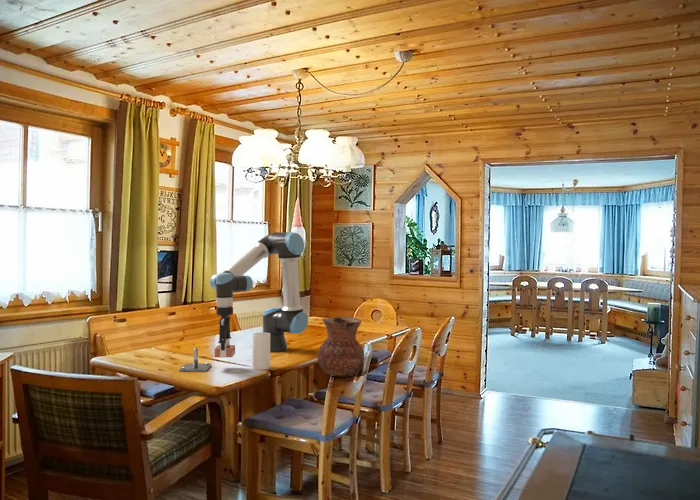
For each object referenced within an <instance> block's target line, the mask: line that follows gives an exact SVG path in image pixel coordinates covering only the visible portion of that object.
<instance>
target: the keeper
mask: <svg viewBox="0 0 700 500" xmlns="http://www.w3.org/2000/svg"><path fill="white" fill-rule="evenodd" d="M192 362H193V363H184V365H182V366H181V367H180V368H179V369H178V370H179V373H180V372H181V373H182V371H187V372H189V373H191V372H193V373H196V372H197V373H200V372H203V373H204V372H207V371H208V370H209V369H210V368H211V367H212V363H209V362H206V363H199V347H193V361H192ZM187 372H186V373H187Z"/></svg>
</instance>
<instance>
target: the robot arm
mask: <svg viewBox="0 0 700 500" xmlns="http://www.w3.org/2000/svg"><path fill="white" fill-rule="evenodd" d="M304 249H305V242H304V239H303V236H302V235H300V234H299V233H297V232H292V231H288V232H287V231H285V232H280V231H279V232H276V231H275V232H272V233H269V234H267V235H265V236H264V237H262V238H261V239H259V240H258V241H257V242H255V244H254V246H253V247H252V248H251V249H249V251H247V252H246V253H245V254H244V255H242V256H241V257H240V258H239V259H237V260H236V261H235V262H233V263H232V264H231V265H230V266H229V267H227V268H226V269H225V270H223V271H222V272H218V273H217V274H213V275H212V276H210V277H211V278H210V281H209V284H210V287H211V288H212V289H213V290H216V291H215V295H216V298H215V300H214V301H215V302H216V310H215V311H216V313H215V315H217V316H220V319H219V337H218V338H219V341H218V344H219V345H220V357H219V358H227V357H226V345H231V343H230V339H232V336H231V326H230V325H231V324H230V323H231V321H230V319H231V316H232V315H233V313H234V307H233V306H234V293H241V292H247V291H250V290H252V288H253V286H254V284H253V283H254V281H253V279H252V277H251V276H249V275H245V274H246V273H247V272H248V271H250V270H251V269H252V268H253V267H255V266H256V265H257V264H258V263H259V262H260V261H261V260H263V259H266V258H268V257H270V256H272V255H277V258H278V260H280V262H281V273H282V275H281V276H282V277H281V278H282V292H283V294H282V295H283V297H282V298H283V306H279V307H268V308H265V309H264V310H263V313H262V333H270V353H275V352H277V353H279V352H284V351H287V350H288V343H287V339H286V336H285V333H291V334H294V335H295V334H301V333H303V332H305V330H306V328H307V327H308V323H309V315H308V314H307V313H306V312H304V307H303V306H302V305H301V301H300V299H301V298H300V297H301V296H300V281H299V262H298V261H299V260H300V259H301V254H302V253H303V252H304Z"/></svg>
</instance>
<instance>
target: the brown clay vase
mask: <svg viewBox="0 0 700 500" xmlns="http://www.w3.org/2000/svg"><path fill="white" fill-rule="evenodd" d="M322 322H323V323H324V325H325V328H326V333H327V335H326V336H327V337H326V339H325V340H324V341H323V342H322V344H321V345H320V347H319V348H318V351H317V362H318V365H319V367H320V368H321V370H322V371H323V372H324V373H325V374H326V375H329V376H332V375H333V376H332V377H335V376H336V377H340V378H346V377H348V378H349V377H353V376H355V375H357V374H358V372H359V371H360V370H361V369H362V367H363V364H364V360H365V352H364V349H363V347H362V345H361V344H360V343H359V340H357V337H356V334H357V331H358V329H359V327H360V325H361V324H362V320H361V319H360V318H357V317H351V316H336V317H335V316H334V317H328V318H327V317H324V318H323V319H322Z"/></svg>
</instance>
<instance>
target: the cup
mask: <svg viewBox="0 0 700 500" xmlns="http://www.w3.org/2000/svg"><path fill="white" fill-rule="evenodd" d="M251 364H252V365H251V368H252V369H253V370H257V371H260V370H269V369H270V368H271V352H270V333H263V332H255V333H252V363H251Z"/></svg>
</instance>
